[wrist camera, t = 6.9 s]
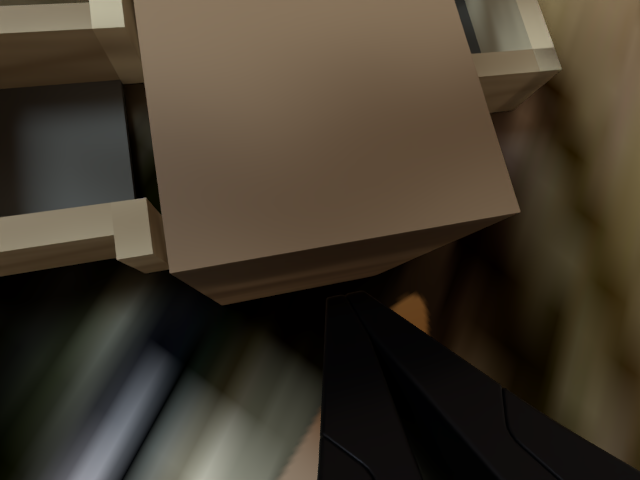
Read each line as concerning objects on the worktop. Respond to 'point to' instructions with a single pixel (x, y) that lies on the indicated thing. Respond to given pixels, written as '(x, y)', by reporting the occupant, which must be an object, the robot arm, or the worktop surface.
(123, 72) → the rail channel
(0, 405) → the worktop surface
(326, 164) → the walnut block
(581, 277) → the worktop surface
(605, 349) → the worktop surface
